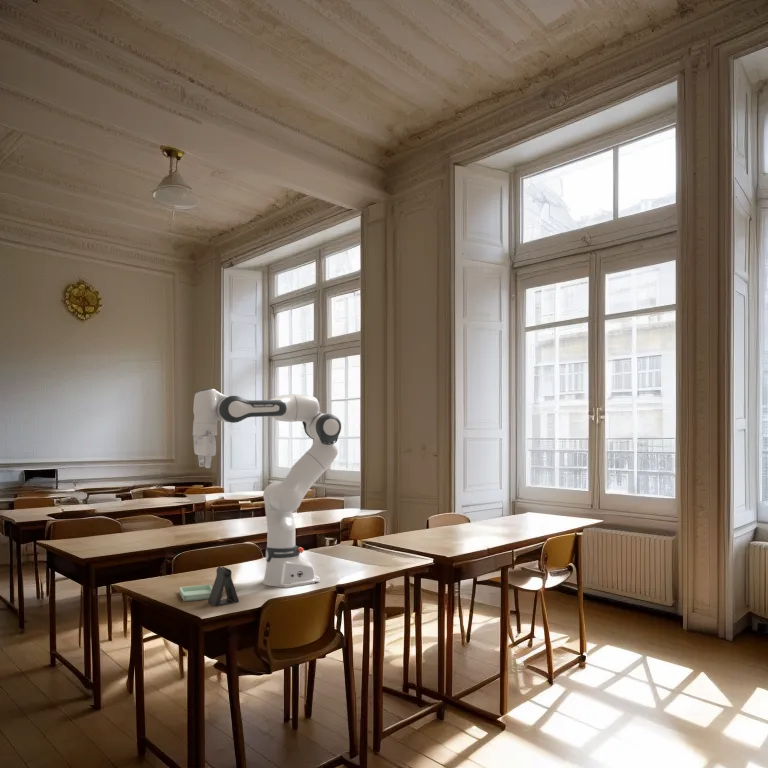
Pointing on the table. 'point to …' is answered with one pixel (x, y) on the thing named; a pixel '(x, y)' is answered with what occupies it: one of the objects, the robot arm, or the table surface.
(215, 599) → the dark grey a-shaped stand
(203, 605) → the table surface
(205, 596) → the tray
